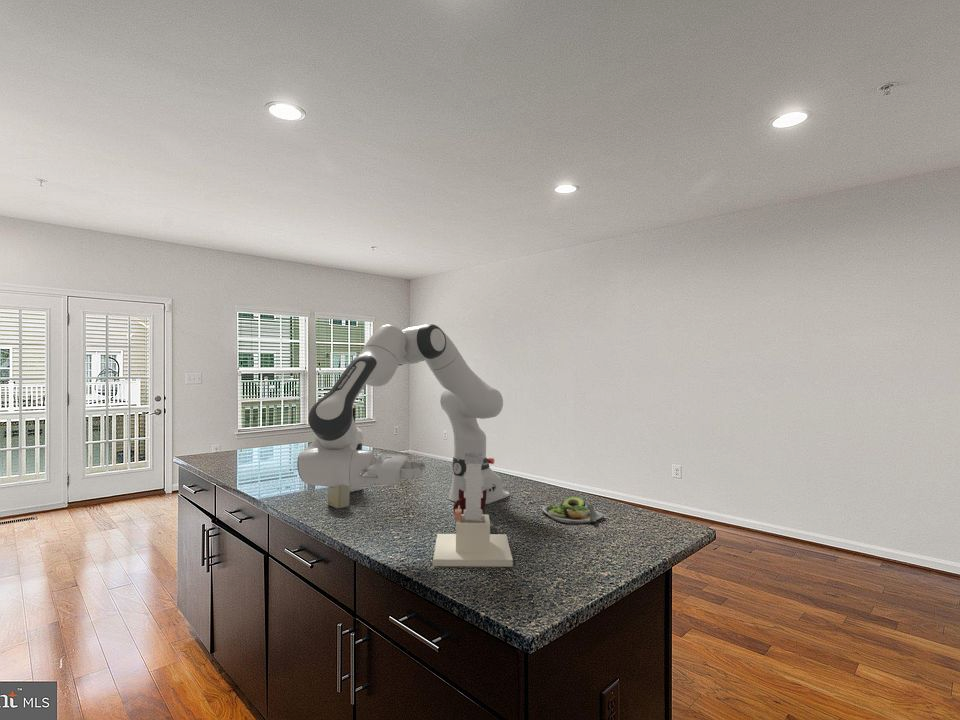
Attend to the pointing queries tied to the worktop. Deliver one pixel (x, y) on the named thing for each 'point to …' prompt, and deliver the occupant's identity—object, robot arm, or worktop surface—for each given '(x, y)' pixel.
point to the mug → (463, 500)
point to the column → (473, 487)
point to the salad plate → (572, 511)
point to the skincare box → (339, 496)
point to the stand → (472, 545)
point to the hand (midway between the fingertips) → (423, 469)
